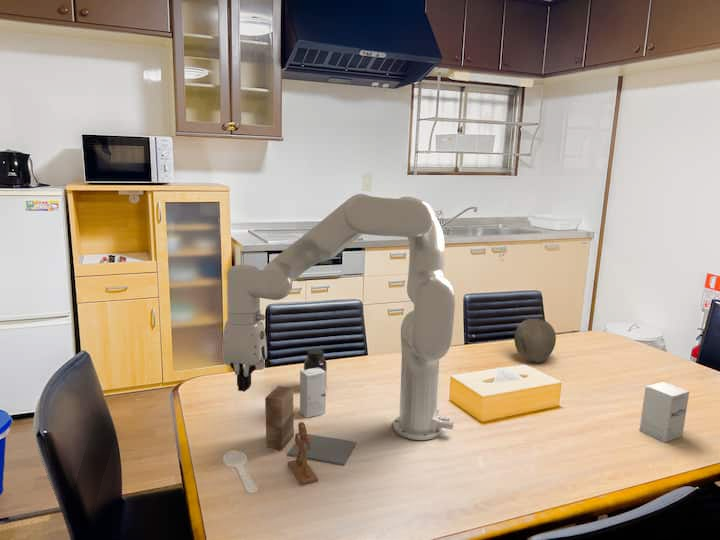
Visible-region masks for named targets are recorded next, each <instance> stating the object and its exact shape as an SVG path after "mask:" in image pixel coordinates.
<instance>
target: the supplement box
mask: <svg viewBox="0 0 720 540" xmlns="http://www.w3.org/2000/svg"><path fill="white" fill-rule="evenodd" d="M689 395H690V391H689V390H687V389H684V388H682V387H679V386H675V385H673V384H671V383H667V382H665V381H661V382H656V383H652V384H649V385H645V391H644V396H643V402H642V410H641V418H640V424H639V431H640V432H643V433H644V434H646V435H649V436H651V437H652V438H655V439H656V440H659V441H661V442H663V443H667V442H669V441H672V440H675V439H677V438H681V437H683V436H684V435H683V434H684V428H685V421H686V414H687V409H688V403H689V401H688V400H689Z"/></svg>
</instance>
